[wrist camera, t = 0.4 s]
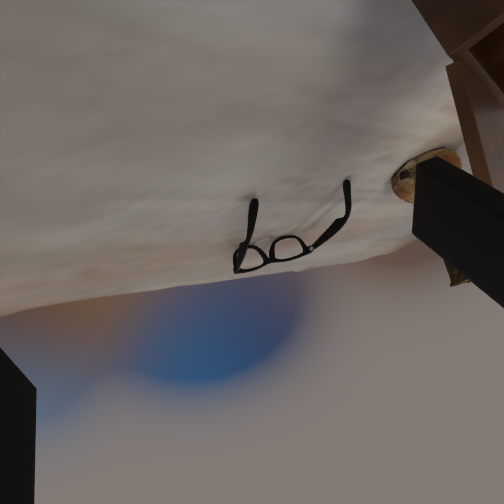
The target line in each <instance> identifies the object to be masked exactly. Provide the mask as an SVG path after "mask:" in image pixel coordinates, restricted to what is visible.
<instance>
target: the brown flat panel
mask: <svg viewBox="0 0 504 504" xmlns="http://www.w3.org/2000/svg"><path fill="white" fill-rule="evenodd" d="M446 71H447V75H448V79H449V83H450V87H451V90H452V94H453V98H454V102H455V106H456V110H457V114H458V118H459V122H460V126H461V130H462V134H463V138H464V142H465V145H466V149H467V153H468V157H469V161H470V165H471V169H472V173H473V176H474V177H476V178H478V179H479V180H481V181H483V182H485V183H486V184H488V185H490V186H492V187H493V188H495V189H497V190H499V191H501V192H502V193H504V109H503V107H502V106H501V105H500V104H499V103H498V102H497V101H496V100H495V98H494V97H493V96H492V95H491V94H490V93H489V92H488V91H487V90H486V88H485V87H484V86H483V85H482V84H481V83H480V82H479V81H478V79H477V78H476V77H475V76H474V75H473V74H472V73H471V72H470V70H469V69H468V68H467V67H466V66H465V65H464V64H463V63H462V62H461V60H458V61H456V62H454V63H452V64H450V65H448V66H446Z"/></svg>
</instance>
